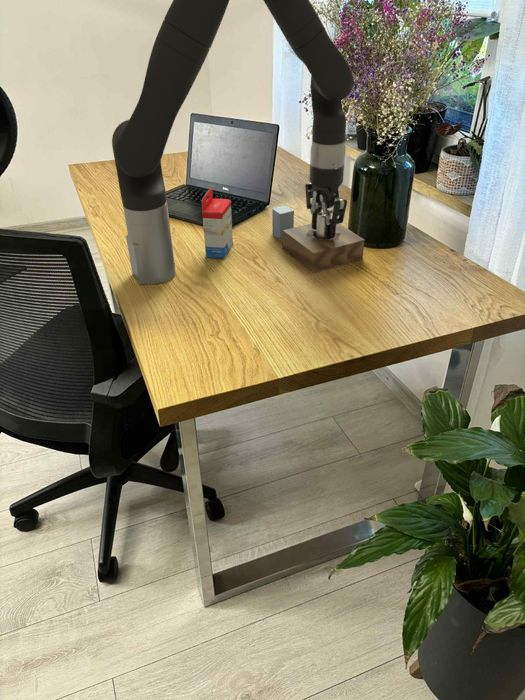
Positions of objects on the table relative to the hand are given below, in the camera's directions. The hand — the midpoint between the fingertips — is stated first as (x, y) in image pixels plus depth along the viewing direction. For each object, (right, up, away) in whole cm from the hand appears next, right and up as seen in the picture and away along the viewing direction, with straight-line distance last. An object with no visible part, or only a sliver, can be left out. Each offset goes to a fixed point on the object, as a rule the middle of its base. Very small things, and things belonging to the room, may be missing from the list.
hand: (323, 233), depth 129 cm
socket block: (0, -4, +3) cm, 5 cm away
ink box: (-25, -3, +6) cm, 26 cm away
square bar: (-9, +2, +12) cm, 15 cm away
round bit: (0, -4, +3) cm, 5 cm away
